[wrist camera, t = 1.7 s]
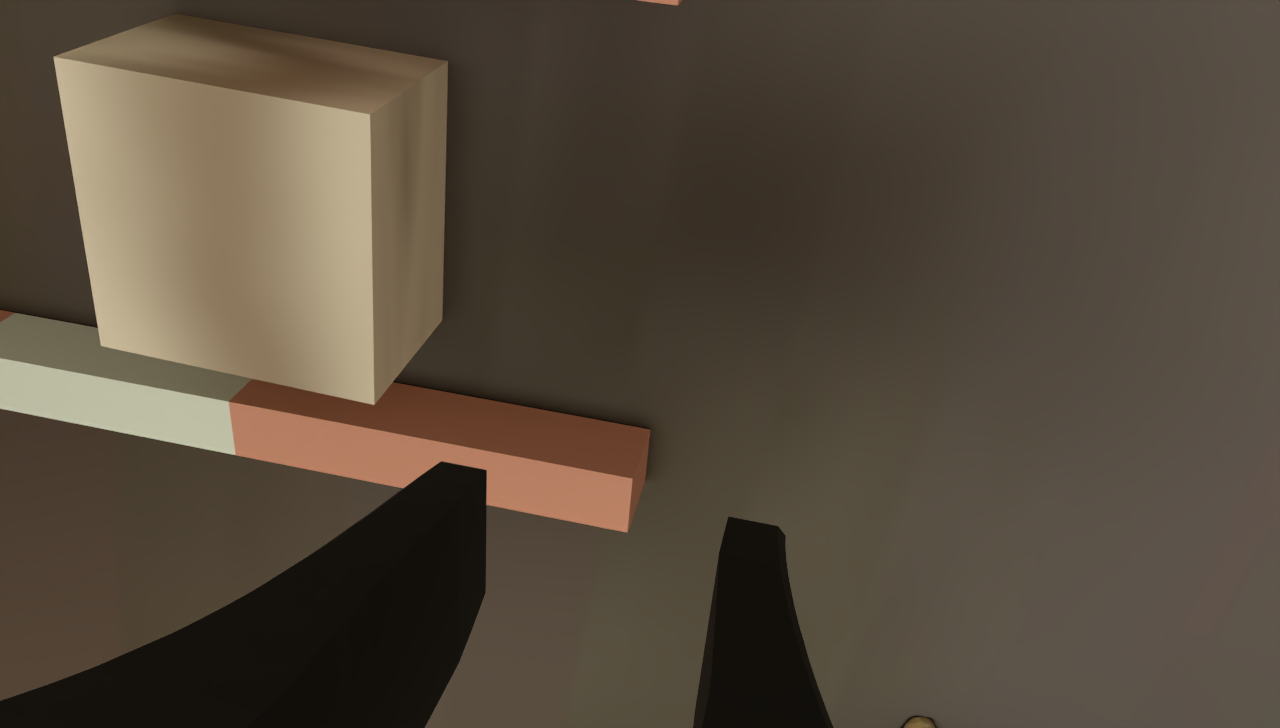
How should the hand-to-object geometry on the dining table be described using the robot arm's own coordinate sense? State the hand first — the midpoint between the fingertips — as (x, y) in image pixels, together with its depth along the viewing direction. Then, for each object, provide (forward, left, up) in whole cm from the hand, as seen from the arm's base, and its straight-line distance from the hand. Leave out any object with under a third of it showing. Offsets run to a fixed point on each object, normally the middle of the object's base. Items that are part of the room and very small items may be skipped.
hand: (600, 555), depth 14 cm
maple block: (-9, 0, -11) cm, 14 cm away
